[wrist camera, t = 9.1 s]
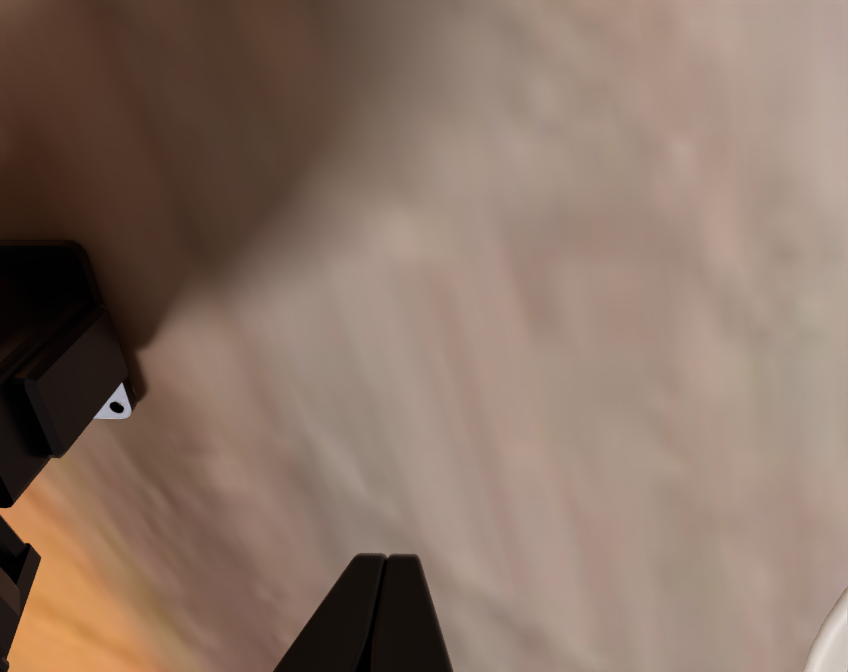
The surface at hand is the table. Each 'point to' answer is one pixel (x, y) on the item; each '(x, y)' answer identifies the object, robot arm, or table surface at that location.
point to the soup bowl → (831, 641)
